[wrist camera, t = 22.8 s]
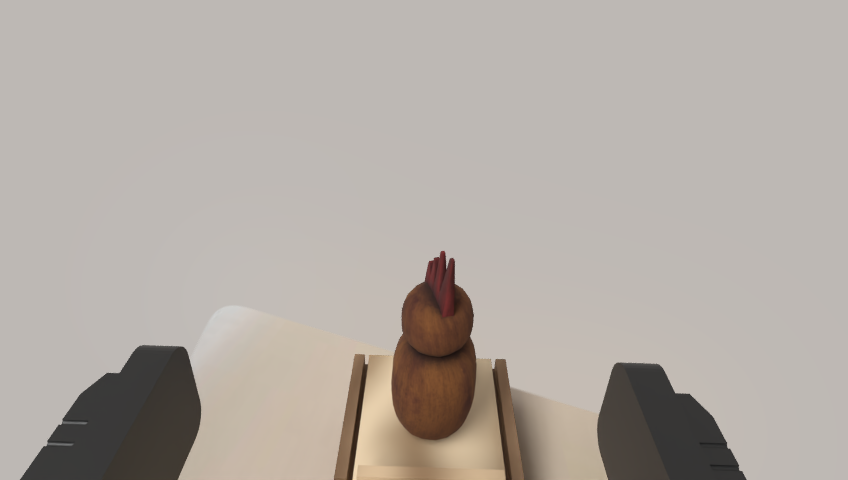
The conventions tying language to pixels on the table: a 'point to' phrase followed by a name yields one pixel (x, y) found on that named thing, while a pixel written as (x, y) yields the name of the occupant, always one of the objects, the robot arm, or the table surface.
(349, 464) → the light wooden box
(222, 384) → the table surface
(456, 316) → the wooden figurine
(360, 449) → the lid
